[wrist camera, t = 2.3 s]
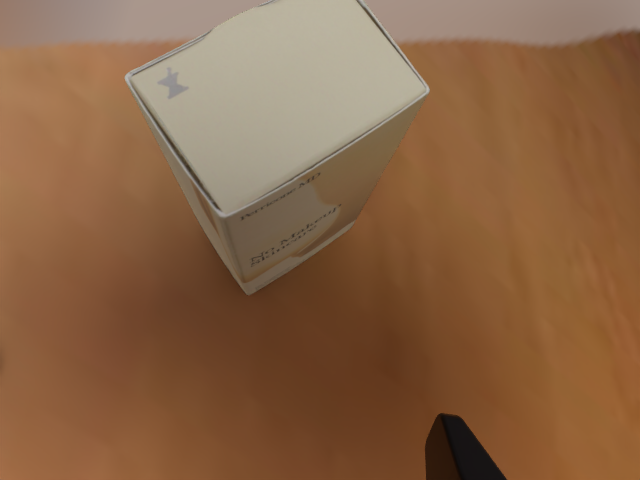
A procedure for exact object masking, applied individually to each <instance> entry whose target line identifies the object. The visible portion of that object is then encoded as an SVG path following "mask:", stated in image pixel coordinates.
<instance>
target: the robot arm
mask: <svg viewBox="0 0 640 480" xmlns="http://www.w3.org/2000/svg"><path fill="white" fill-rule="evenodd" d="M425 460H426V480H507V479H506V478H505V476H504V475H503V474H502V472H501V471H500V469H499V468H498V467H497V465H496V464H495V463H494V461H493V460H492V459H491V457H490V456H489V454H488V453H487V452H486V450H485V449H484V448H483V446H482V445H481V444H480V442H479V441H478V439H477V438H476V437H475V435H474V434H473V433H472V431H471V430H470V429H469V427H468V426H467V425H466V423H465V422H464V420H463V419H462V418H461V417H459V416H457V415H451V414H445V413H440V414H438V415H437V417H436V419H435V421H434V423H433V426H432V428H431V430H430V432H429V435H428V437H427V440H426V445H425Z"/></svg>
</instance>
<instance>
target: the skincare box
mask: <svg viewBox="0 0 640 480" xmlns="http://www.w3.org/2000/svg"><path fill="white" fill-rule="evenodd" d="M125 80H126V83H127V85H128V87H129V89H130V91H131V93H132V95H133V97H134V98H135V100H136V102H137V104H138V106H139V108H140V110H141V112H142V114H143V115H144V117H145V119H146V121H147V123H148V125H149V127H150V129H151V131H152V133H153V135H154V137H155V139H156V140H157V142H158V144H159V146H160V148H161V150H162V152H163V154H164V156H165V158H166V160H167V162H168V164H169V166H170V168H171V170H172V172H173V174H174V176H175V178H176V180H177V181H178V183H179V185H180V187H181V189H182V191H183V193H184V195H185V197H186V199H187V201H188V203H189V205H190V207H191V208H192V210H193V212H194V214H195V216H196V218H197V220H198V222H199V224H200V225H201V227H202V229H203V230H204V232H205V234H206V235H207V237H208V239H209V240H210V242H211V244H212V245H213V247H214V248H215V250H216V252H217V253H218V255H219V256H220V258H221V259H222V261H223V262H224V264H225V265H226V267H227V268H228V270H229V271H230V273H231V274H232V276H233V277H234V279H235V280H236V281H237V283H238V284H239V285H240V287H241V288H242V289H243V291H244V292H245V293H246V294H247V295H251V294H253V293H254V292H256V291H258V290H259V289H261V288H263V287H264V286H266V285H268V284H269V283H271V282H273V281H274V280H276V279H278V278H279V277H281V276H282V275H284V274H285V273H287V272H289V271H290V270H292V269H293V268H295V267H296V266H298V265H299V264H301V263H302V262H304V261H305V260H307V259H308V258H310V257H311V256H313V255H314V254H315V253H317V252H318V251H320V250H321V249H322V248H324V247H325V246H327V245H328V244H330V243H331V242H332V241H334V240H335V239H336V238H338V237H339V236H341V235H342V234H344V233H345V232H346V231H348V230H349V229H350V228H351V227H352V226H353V224H354V222H355V221H356V219H357V217H358V215H359V213H360V212H361V210H362V208H363V206H364V204H365V203H366V201H367V199H368V198H369V196H370V194H371V192H372V191H373V189H374V187H375V186H376V184H377V182H378V180H379V179H380V177H381V175H382V173H383V171H384V170H385V168H386V166H387V165H388V163H389V161H390V159H391V158H392V156H393V154H394V152H395V151H396V149H397V148H398V146H399V144H400V142H401V140H402V139H403V137H404V135H405V133H406V132H407V130H408V128H409V126H410V125H411V123H412V121H413V120H414V118H415V116H416V114H417V112H418V111H419V109H420V108H421V106H422V104H423V102H424V101H425V99H426V97H427V95H428V94H429V92H430V89H429V87H428V85H427V84H426V82H425V81H424V80H423V78H422V77H421V76H420V75H419V73H418V72H417V71H416V70H415V68H414V67H413V65H412V64H411V62H410V61H409V60H408V58H407V57H406V55H405V54H404V53H403V52H402V50H401V49H400V48H399V46H398V45H397V44H396V42H395V41H394V39H393V38H392V36H391V35H390V34H389V33H388V32H387V30H386V29H385V27H384V26H383V25H382V24H381V23H380V21H379V20H378V19H377V17H376V16H375V15H374V13H373V12H372V10H371V9H370V8H369V7H368V5H367V4H366V3H365V1H364V0H269V1H268V2H266V3H263V4H261V5H259V6H257V7H254V8H253V9H250V10H247V11H245V12H242V13H240V14H238V15H236V16H234V17H232V18H230V19H229V20H227V21H225V22H224V23H222V24H220V25H219V26H217V27H215V28H214V29H212V30H210V31H209V32H207V33H205V34H203V35H201V36H199V37H197V38H195V39H193V40H191V41H189V42H187V43H185V44H183V45H181V46H180V47H178V48H176V49H174V50H172V51H170V52H168V53H166V54H164V55H162V56H160V57H158V58H156V59H154V60H152V61H150V62H148V63H146V64H145V65H143V66H141V67H139V68H136V69H134V70H132V71H130V72H129V73H127V74H126V75H125Z"/></svg>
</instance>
